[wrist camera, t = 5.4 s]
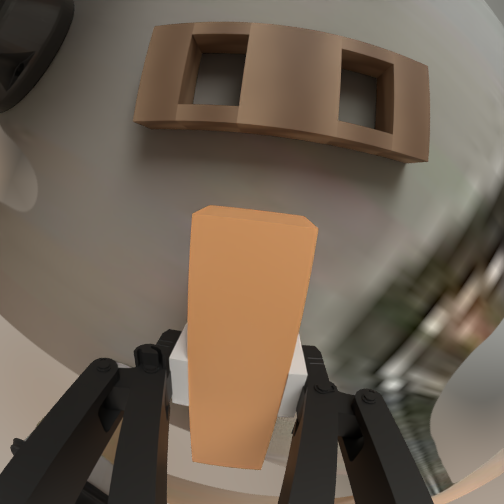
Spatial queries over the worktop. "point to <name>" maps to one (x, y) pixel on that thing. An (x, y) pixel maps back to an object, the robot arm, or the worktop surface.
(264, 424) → the wooden arch block
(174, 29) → the hollow block
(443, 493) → the worktop surface
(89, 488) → the coffee cup
